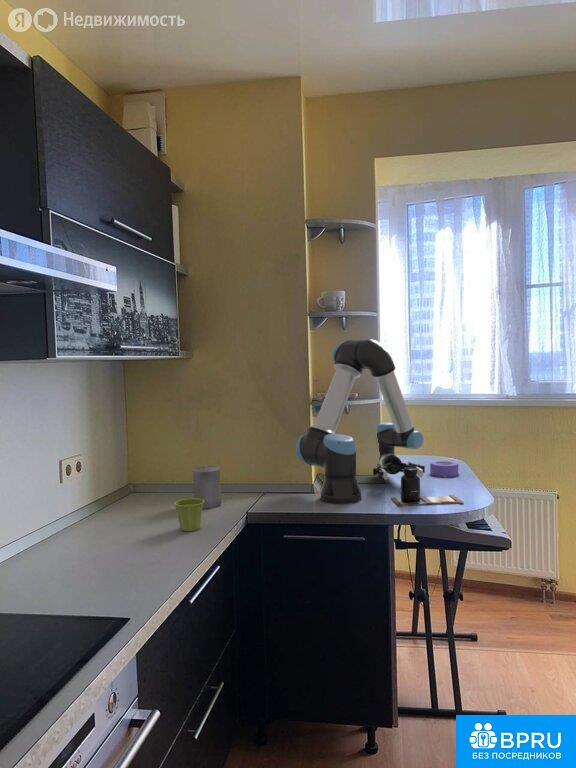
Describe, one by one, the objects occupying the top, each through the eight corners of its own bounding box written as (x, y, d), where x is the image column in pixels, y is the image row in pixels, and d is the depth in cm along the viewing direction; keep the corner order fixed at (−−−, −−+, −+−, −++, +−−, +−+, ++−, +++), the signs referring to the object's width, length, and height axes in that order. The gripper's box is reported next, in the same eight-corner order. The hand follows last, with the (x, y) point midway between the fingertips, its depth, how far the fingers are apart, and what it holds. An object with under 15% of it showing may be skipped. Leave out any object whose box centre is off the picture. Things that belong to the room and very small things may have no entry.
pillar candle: (206, 500, 218) (204, 461, 217) (226, 503, 213) (224, 463, 212) (189, 507, 210) (186, 466, 209) (210, 510, 205) (208, 468, 204)
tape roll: (456, 471, 257) (456, 460, 257) (460, 477, 246) (460, 465, 245) (429, 471, 259) (428, 460, 259) (431, 477, 247) (431, 465, 247)
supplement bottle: (415, 505, 203) (414, 471, 203) (397, 502, 207) (396, 469, 207) (423, 500, 209) (423, 467, 208) (406, 498, 213) (405, 465, 212)
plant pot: (173, 526, 186) (171, 500, 186) (202, 523, 190) (200, 496, 189) (178, 535, 178) (176, 507, 177) (208, 530, 181) (207, 503, 180)
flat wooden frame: (398, 507, 201) (398, 504, 201) (391, 499, 212) (391, 496, 212) (463, 504, 202) (463, 501, 202) (453, 496, 213) (453, 493, 213)
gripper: (421, 471, 240) (436, 483, 218) (361, 474, 238) (371, 486, 217) (420, 453, 239) (436, 463, 218) (360, 456, 238) (370, 466, 217)
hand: (403, 474), depth 218 cm, fingers open, 13 cm apart
